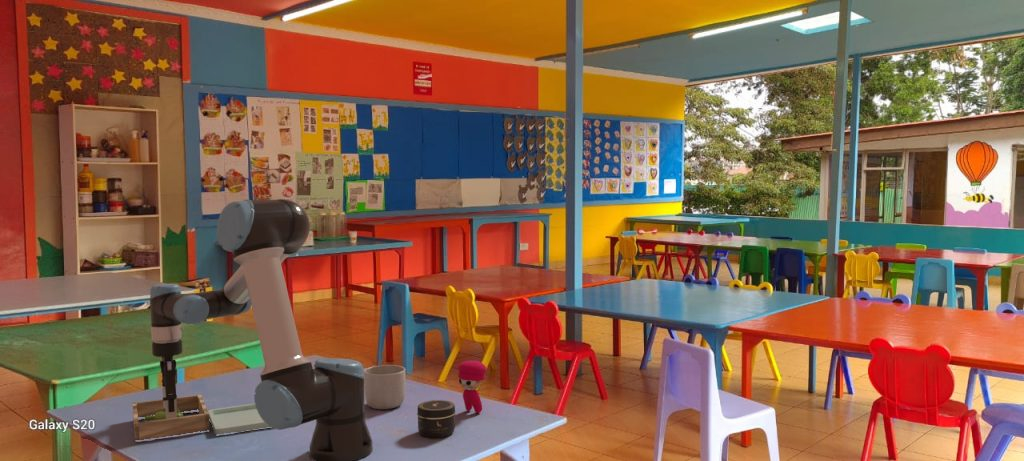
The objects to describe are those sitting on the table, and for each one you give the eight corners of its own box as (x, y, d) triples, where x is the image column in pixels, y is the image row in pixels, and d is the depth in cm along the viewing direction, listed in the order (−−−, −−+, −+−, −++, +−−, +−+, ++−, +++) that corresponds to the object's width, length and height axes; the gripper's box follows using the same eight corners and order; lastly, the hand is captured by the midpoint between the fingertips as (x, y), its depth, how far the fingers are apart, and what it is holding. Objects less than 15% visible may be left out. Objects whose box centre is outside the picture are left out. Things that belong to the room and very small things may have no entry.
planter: (357, 410, 222) (356, 373, 221) (374, 398, 234) (373, 364, 233) (396, 413, 219) (395, 375, 218) (412, 401, 231) (411, 365, 230)
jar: (421, 441, 195) (420, 412, 194) (414, 429, 204) (414, 401, 204) (459, 437, 197) (458, 408, 197) (451, 425, 207) (450, 398, 206)
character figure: (146, 400, 209) (193, 397, 212) (148, 415, 211) (195, 411, 215) (139, 429, 199) (188, 425, 202) (141, 444, 201) (190, 440, 205)
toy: (452, 414, 217) (451, 362, 216) (467, 406, 224) (466, 356, 223) (478, 418, 213) (477, 365, 212) (492, 410, 220) (491, 359, 219)
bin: (209, 432, 204) (209, 413, 203) (135, 443, 195) (134, 424, 195) (201, 411, 223) (200, 394, 223) (133, 420, 215) (132, 403, 215)
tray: (293, 425, 209) (293, 417, 209) (215, 436, 200) (215, 429, 200) (279, 406, 227) (279, 400, 227) (207, 416, 217) (207, 409, 217)
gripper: (185, 347, 199) (188, 426, 200) (178, 331, 221) (181, 403, 222) (153, 350, 195) (157, 431, 196) (150, 334, 217) (153, 406, 218)
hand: (170, 416), depth 209 cm, fingers open, 13 cm apart
